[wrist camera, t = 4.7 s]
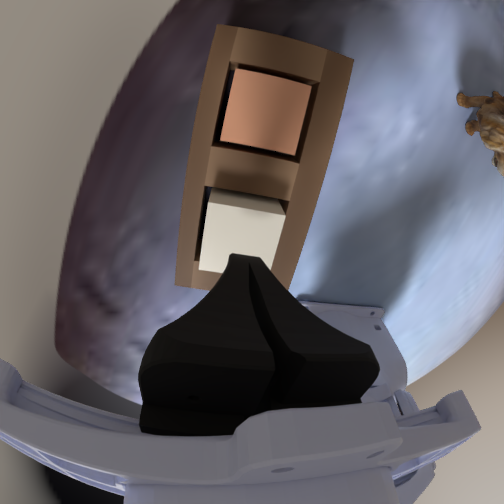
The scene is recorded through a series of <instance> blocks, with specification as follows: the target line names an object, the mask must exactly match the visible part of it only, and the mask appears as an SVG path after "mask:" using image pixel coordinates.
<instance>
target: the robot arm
mask: <svg viewBox="0 0 504 504" xmlns="http://www.w3.org/2000/svg"><path fill="white" fill-rule="evenodd" d="M305 306H307V307H305ZM384 313H385V311H384V310H383V308H377V307H363V306H350V305H338V304H327V303H317V302H307V301H298V300H297V299H296V298H294V297H293V296H292V295H291V293H290V292H289V291H288V290H287V289H286V288H285V287H284V286H283V285H282V284H281V283H280V282H279V280H278V279H277V278H276V277H275V276H274V274H273V273H272V272H271V271H270V269H269V268H268V267H267V265H266V264H265V263H264V261H263V260H262V259H261V258H260V257H256V256H249V255H242V254H236V253H231V254H230V255H229V258H228V264H227V266H226V268H225V270H224V272H223V273H222V275H221V277H220V278H219V280H218V281H217V283H216V284H215V285H214V287H213V288H212V289H211V291H210V292H209V293H208V294H207V295H206V296H205V297H204V298H203V299H202V300H201V301H200V302H199V303H198V304H197V305H196V306H195V307H193V308H192V309H191V310H190V311H188V312H187V313H185V314H184V315H183V316H181V317H180V318H178V319H177V320H175V321H174V322H172V323H170V324H168V325H166V326H164V327H162V328H160V329H158V331H157V332H156V334H155V335H154V337H153V338H152V340H151V342H150V343H149V345H148V347H147V349H146V351H145V354H144V356H143V358H142V362H141V366H140V369H139V374H138V382H139V387H140V391H141V396H142V400H143V404H142V409H141V415H140V420H139V419H135V418H130V417H126V416H122V415H118V414H114V413H111V412H107V411H103V410H100V409H96V408H93V407H90V406H87V405H84V404H81V403H77V402H75V401H72V400H69V399H66V398H63V397H61V396H59V395H56V394H53V393H51V392H49V391H46V390H43V389H41V388H39V387H37V386H34V385H32V384H30V383H28V382H26V381H24V380H22V378H21V376H20V374H19V372H18V371H17V370H16V368H15V367H13V366H12V365H11V364H10V363H8V362H6V361H4V360H2V359H0V439H1V440H3V441H4V442H6V443H7V444H9V445H10V446H12V447H14V448H15V449H17V450H19V451H20V452H22V453H24V454H26V455H27V456H29V457H31V458H33V459H35V460H37V461H38V462H40V463H42V464H44V465H46V466H48V467H50V468H52V469H54V470H56V471H58V472H61V473H63V474H65V475H67V476H70V477H72V478H74V479H77V480H79V481H82V482H84V483H87V484H89V485H92V486H95V487H98V488H100V489H103V490H106V491H109V492H113V493H116V494H119V495H123V496H124V504H413V503H414V502H415V501H416V500H417V498H418V497H419V496H420V495H421V494H422V492H423V491H424V490H425V489H426V487H427V486H428V485H429V484H430V482H431V481H432V479H433V478H434V476H435V473H434V470H435V468H436V464H435V461H436V460H438V459H439V458H442V457H444V456H445V455H447V454H448V453H450V452H451V451H453V450H454V449H456V448H457V447H459V446H460V445H461V444H463V443H464V442H465V441H467V440H468V439H469V438H471V437H472V436H473V435H475V434H476V433H477V432H478V431H480V429H481V426H480V424H479V422H478V420H477V418H476V416H475V414H474V412H473V410H472V408H471V406H470V404H469V402H468V400H467V399H466V397H465V395H464V393H463V391H462V390H459V391H456V392H453V393H450V394H448V395H446V396H445V397H443V398H442V399H441V400H440V401H439V402H438V403H437V404H436V406H433V407H430V408H427V409H423V410H420V411H419V409H418V407H417V405H416V403H415V401H414V399H413V397H412V396H411V394H410V393H409V392H406V391H405V389H406V385H407V367H406V363H405V360H404V358H403V356H402V354H401V353H400V351H399V349H398V347H397V345H396V343H395V342H394V340H393V338H392V336H391V335H390V333H389V331H388V329H387V328H386V326H385V324H384V323H383V321H382V319H381V318H382V316H383V315H384ZM396 403H397V404H396ZM397 405H398V406H397ZM398 408H399V409H398ZM399 410H400V411H399ZM400 413H401V414H400Z"/></svg>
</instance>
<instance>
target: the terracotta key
mask: <svg viewBox="0 0 504 504" xmlns="http://www.w3.org/2000/svg"><path fill="white" fill-rule="evenodd" d="M311 87H312V86H309V85H306V84H302V83H299V82H295V81H291V80H288V79H284V78H280V77H276V76H271V75H267V74H262V73H257V72H253V71H247V70H242V69H236V70H235V74H234V78H233V82H232V87H231V91H230V95H229V100H228V105H227V109H226V114H225V119H224V123H223V128H222V133H221V138H220V140H221V141H227V142H233V143H238V144H244V145H249V146H254V147H259V148H264V149H269V150H273V151H278V152H282V153H287V154H291V155H295V152H296V148H297V144H298V140H299V136H300V132H301V128H302V124H303V120H304V116H305V112H306V108H307V104H308V100H309V96H310V92H311Z"/></svg>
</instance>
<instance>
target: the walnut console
mask: <svg viewBox="0 0 504 504" xmlns="http://www.w3.org/2000/svg"><path fill="white" fill-rule="evenodd" d="M353 62H354V59H351V58H349V57H346V56H344V55H341V54H339V53H336V52H333V51H330V50H328V49H325V48H322V47H319V46H316V45H313V44H309V43H306V42H303V41H299V40H296V39H292V38H288V37H284V36H280V35H276V34H272V33H267V32H263V31H258V30H252V29H247V28H241V27H235V26H228V25H220V24H217V27H216V31H215V34H214V38H213V42H212V46H211V49H210V53H209V57H208V61H207V66H206V70H205V74H204V78H203V83H202V87H201V92H200V97H199V102H198V107H197V112H196V117H195V122H194V128H193V133H192V139H191V145H190V151H189V157H188V164H187V170H186V177H185V185H184V192H183V200H182V209H181V217H180V227H179V237H178V248H177V260H176V274H175V285H176V286H183V287H189V288H196V289H202V290H209V291H211V289H212V288H213V287H214V285H215V284H216V283H217V281H218V280H219V278H220V277H221V275H222V273H218V272H212V271H205V270H199V263H200V255H201V248H202V240H201V239H199V236H200V229H201V222H202V215H203V208H204V202H205V195H206V189H207V186H210V187H217V188H223V189H229V190H235V191H240V192H246V193H252V194H257V195H262V196H268V197H273V198H278V201H279V203H280V205H281V207H282V209H283V211H284V213H285V215H286V217H285V221H284V224H283V228H282V231H281V235H280V239H279V242H278V246H277V249H276V253H275V256H274V260H273V263H272V267H271V270H270V271H271V272H272V273H273V274H274V276H275V277H276V278H277V279H278V280H279V282H280V283H281V284H282V285H283V286H284V287H285V288H286V289H287V290H288V289H289V286H290V284H291V281H292V278H293V275H294V272H295V269H296V266H297V263H298V260H299V257H300V254H301V251H302V248H303V245H304V242H305V239H306V236H307V233H308V229H309V226H310V223H311V220H312V217H313V213H314V210H315V207H316V204H317V200H318V197H319V194H320V190H321V187H322V183H323V180H324V177H325V173H326V170H327V166H328V163H329V159H330V155H331V152H332V148H333V144H334V141H335V137H336V133H337V129H338V125H339V122H340V118H341V114H342V110H343V106H344V102H345V97H346V93H347V89H348V85H349V80H350V76H351V72H352V67H353ZM236 69H242V70H247V71H253V72H257V73H262V74H267V75H271V76H276V77H280V78H284V79H288V80H291V81H295V82H299V83H302V84H306V85H309V86H312V87H311V92H310V96H309V100H308V104H307V108H306V112H305V116H304V120H303V124H302V128H301V132H300V136H299V140H298V144H297V148H296V152H295V155H291V154H289V155H285V154H281V153H277V152H272V151H267V150H262V149H258V148H253V147H247V146H242V145H237V144H231V143H225V142H219V141H215V138H216V133H217V128H218V123H219V118H220V113H221V109H222V104H223V99H224V95H225V90H226V86H227V82H228V77H229V73H230V70H236Z"/></svg>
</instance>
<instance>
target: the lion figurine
mask: <svg viewBox="0 0 504 504" xmlns="http://www.w3.org/2000/svg"><path fill="white" fill-rule="evenodd" d="M457 102H458V105H459V106H462V107H465V108H469V107H480V108H481V109H479V111H478V112H477V114H476V115H477V118H478V120H477V121H476V120H471V121H469V122H467V123H466V127H465V129H466V131H467V133H468V134H469V135H471V136H472V135H473V134H474V132H475V131H478V132H480V136H481V139H482V141H483V143H484V145H485V147H486V148H488V149H490V150H493V151H494V152H495V154H494V157H493V159H492V164H493V165H494V166H495V167H497V170H498V172H499V173H500V174H501V175H502V176H503V177H504V97H503V96H501V95H500V94H499V93H498V92H496V91H494V92H493V98H492V97H488V96H473V97H468V96H465V95H464V94H463V93H459V94H458V95H457Z"/></svg>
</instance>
